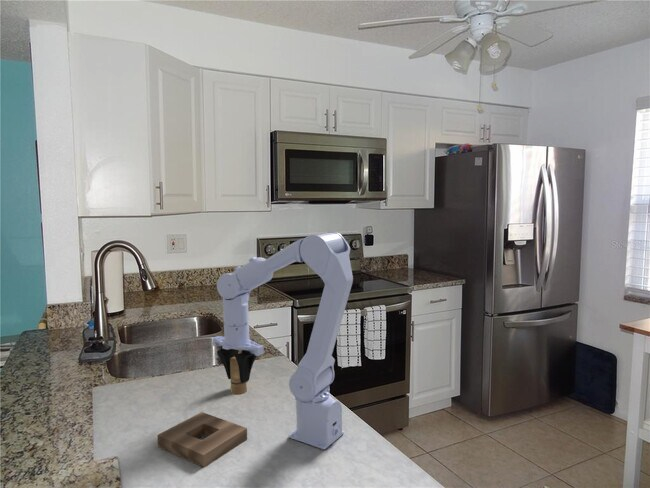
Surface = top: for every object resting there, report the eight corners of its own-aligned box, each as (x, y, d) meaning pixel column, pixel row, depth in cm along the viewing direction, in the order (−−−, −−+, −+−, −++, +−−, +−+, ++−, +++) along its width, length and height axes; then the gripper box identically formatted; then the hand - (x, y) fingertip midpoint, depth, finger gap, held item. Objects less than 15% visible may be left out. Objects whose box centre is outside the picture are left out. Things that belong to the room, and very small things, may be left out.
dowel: (250, 390, 107) (249, 357, 107) (239, 396, 104) (237, 362, 104) (238, 387, 109) (237, 355, 109) (227, 392, 106) (226, 359, 106)
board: (247, 439, 97) (246, 428, 97) (204, 467, 87) (203, 455, 87) (202, 422, 104) (201, 411, 104) (157, 446, 94) (157, 434, 94)
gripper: (201, 323, 106) (204, 379, 107) (247, 332, 98) (249, 392, 99) (223, 316, 112) (225, 369, 113) (268, 324, 104) (270, 381, 105)
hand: (238, 379), depth 107 cm, fingers closed on dowel, 4 cm apart
